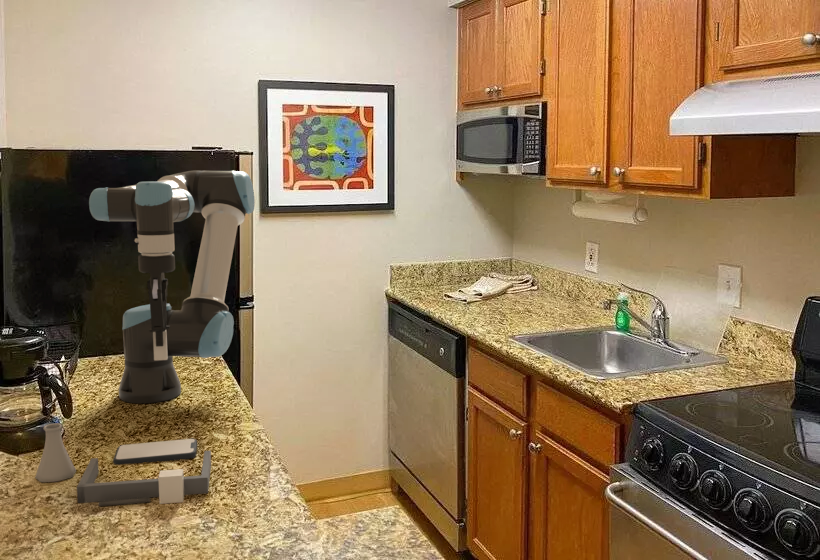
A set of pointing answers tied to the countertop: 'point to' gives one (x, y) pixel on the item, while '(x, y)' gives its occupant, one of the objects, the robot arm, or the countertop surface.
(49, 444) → the flask
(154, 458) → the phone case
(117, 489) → the dock
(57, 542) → the countertop surface
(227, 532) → the countertop surface
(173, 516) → the countertop surface
